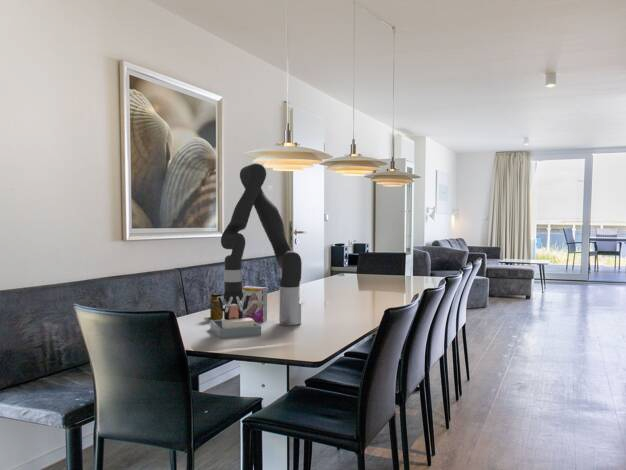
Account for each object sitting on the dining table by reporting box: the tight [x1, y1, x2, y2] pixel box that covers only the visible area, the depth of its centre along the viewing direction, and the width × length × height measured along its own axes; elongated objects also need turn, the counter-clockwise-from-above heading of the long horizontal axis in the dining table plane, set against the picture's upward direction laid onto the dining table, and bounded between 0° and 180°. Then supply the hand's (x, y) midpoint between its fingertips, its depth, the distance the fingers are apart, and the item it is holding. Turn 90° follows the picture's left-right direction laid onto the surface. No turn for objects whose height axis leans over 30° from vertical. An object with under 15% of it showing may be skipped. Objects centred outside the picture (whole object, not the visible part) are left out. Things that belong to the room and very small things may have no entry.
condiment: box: [204, 292, 225, 321], centre depth 244 cm, size 7×8×12 cm
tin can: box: [228, 304, 239, 320], centre depth 216 cm, size 5×5×9 cm
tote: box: [209, 318, 262, 340], centre depth 213 cm, size 17×18×4 cm
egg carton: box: [222, 318, 254, 329], centre depth 209 cm, size 12×5×6 cm, turn 113°
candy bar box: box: [241, 285, 268, 323], centre depth 236 cm, size 11×5×16 cm, turn 70°
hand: (233, 319), depth 216 cm, fingers closed on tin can, 5 cm apart
